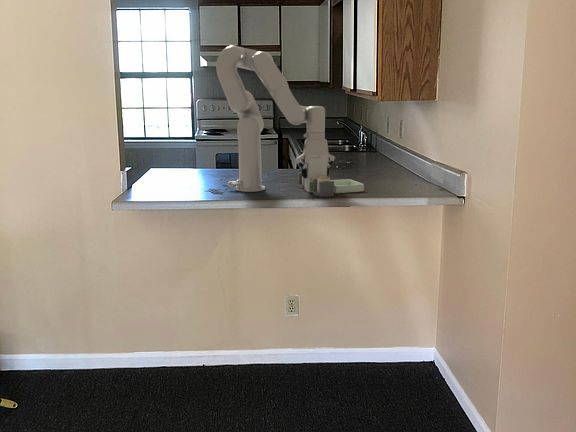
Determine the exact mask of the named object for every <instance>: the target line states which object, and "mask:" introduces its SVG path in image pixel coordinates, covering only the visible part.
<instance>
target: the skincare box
mask: <svg viewBox="0 0 576 432" xmlns="http://www.w3.org/2000/svg"><path fill="white" fill-rule="evenodd" d="M306 169H307V178H305V185H304V189H303V190H304V191H306V192H307V193H313V178H317V176H327V155H315V156H310V164H308V165H307V167H306Z"/></svg>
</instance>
